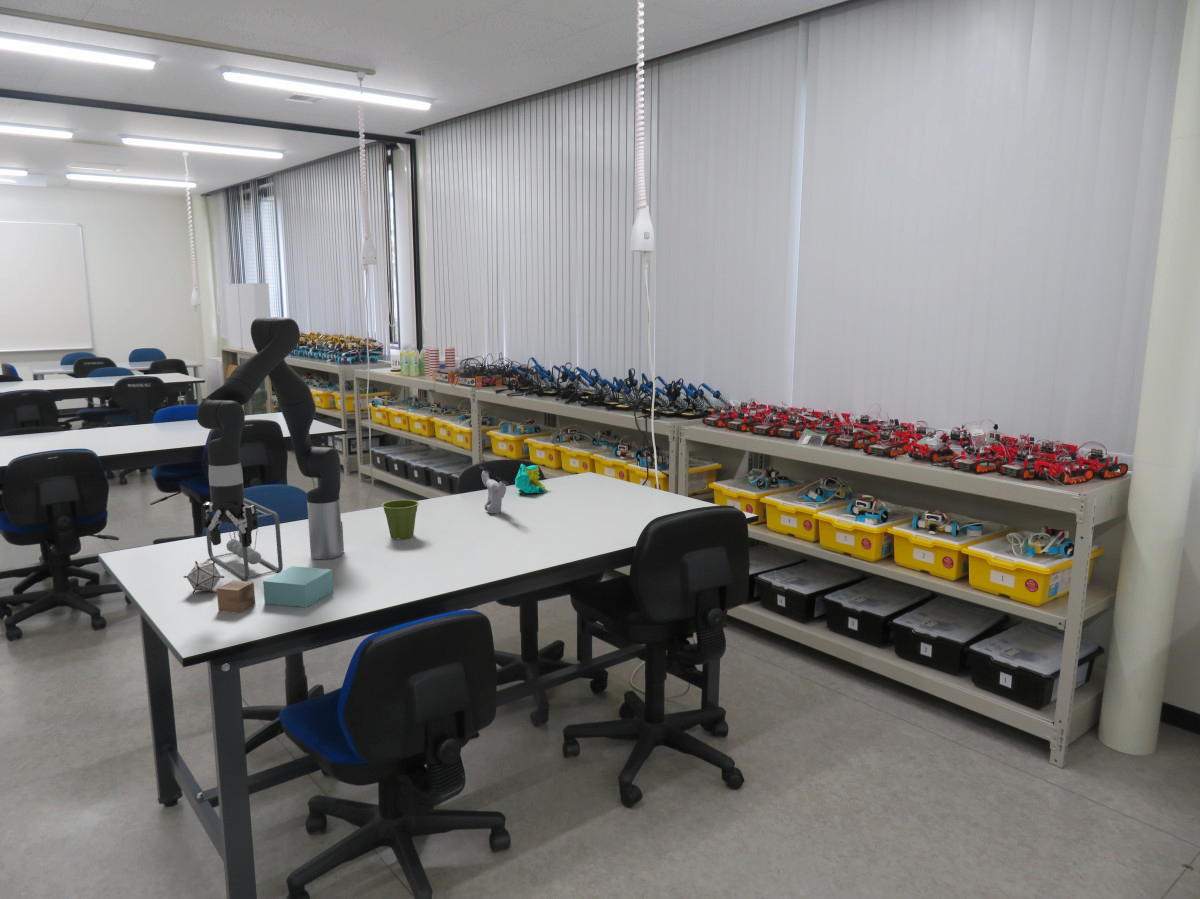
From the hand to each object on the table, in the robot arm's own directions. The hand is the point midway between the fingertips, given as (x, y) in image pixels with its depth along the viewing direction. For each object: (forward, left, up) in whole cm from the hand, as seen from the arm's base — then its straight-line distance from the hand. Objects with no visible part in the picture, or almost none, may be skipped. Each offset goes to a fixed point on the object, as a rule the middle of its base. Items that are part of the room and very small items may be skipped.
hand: (231, 545), depth 196 cm
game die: (-8, -16, -17) cm, 24 cm away
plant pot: (-66, +11, -17) cm, 69 cm away
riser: (-10, +11, -16) cm, 22 cm away
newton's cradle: (-29, -20, -17) cm, 39 cm away
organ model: (-136, +30, -17) cm, 141 cm away
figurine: (-102, +29, -16) cm, 107 cm away
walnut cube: (0, 0, -16) cm, 16 cm away
